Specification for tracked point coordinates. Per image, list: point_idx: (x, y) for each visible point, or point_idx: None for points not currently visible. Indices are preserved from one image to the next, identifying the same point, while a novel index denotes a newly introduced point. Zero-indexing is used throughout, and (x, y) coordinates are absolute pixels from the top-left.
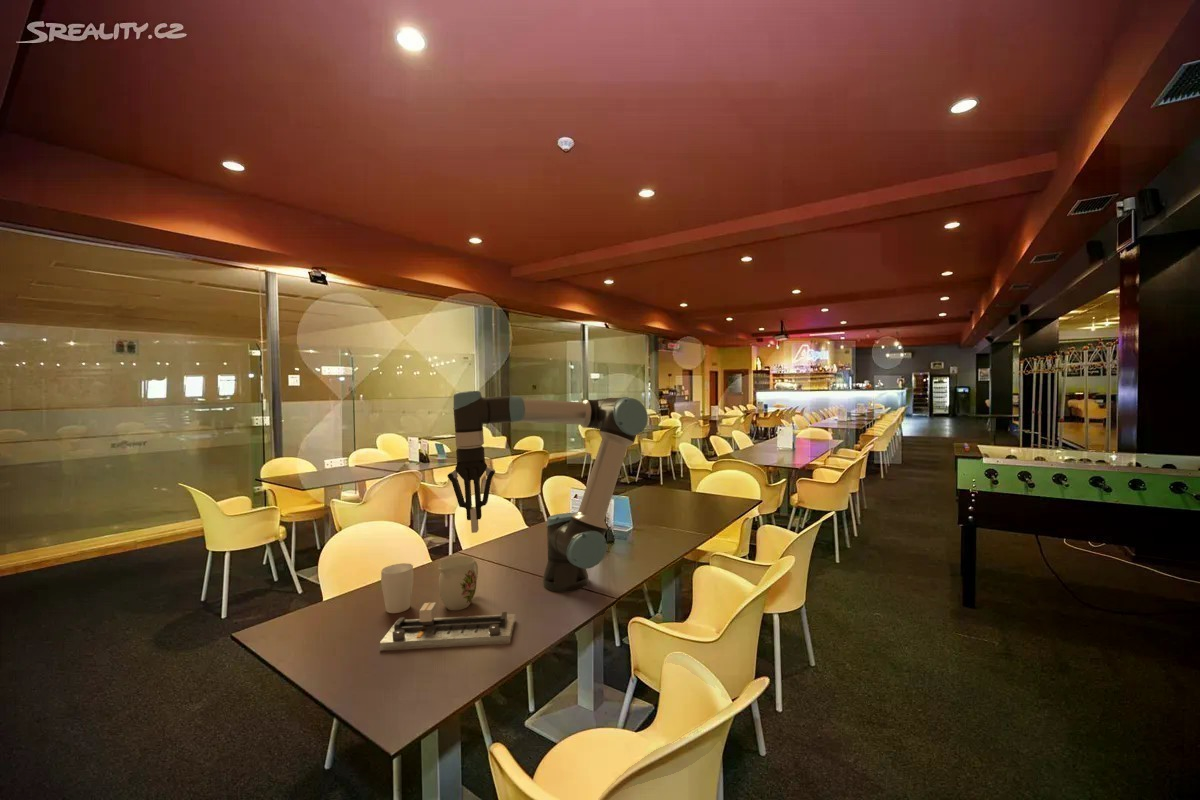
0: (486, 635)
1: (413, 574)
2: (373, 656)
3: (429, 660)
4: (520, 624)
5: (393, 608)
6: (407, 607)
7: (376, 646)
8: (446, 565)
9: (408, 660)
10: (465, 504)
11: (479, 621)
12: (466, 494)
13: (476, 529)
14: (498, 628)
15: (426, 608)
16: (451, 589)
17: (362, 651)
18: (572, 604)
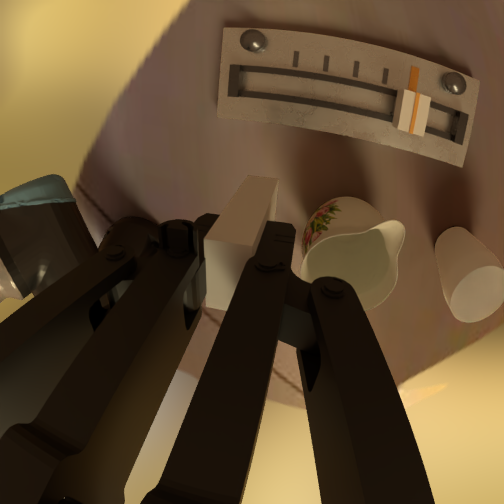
0: (271, 34)
1: (445, 284)
2: (478, 65)
3: (379, 8)
4: (210, 99)
5: (465, 230)
6: (440, 236)
7: (481, 101)
8: (374, 292)
9: (418, 23)
10: (289, 297)
11: (292, 95)
12: (250, 370)
13: (246, 180)
14: (243, 32)
15: (416, 98)
16: (362, 206)
17: (497, 93)
18: (124, 165)
